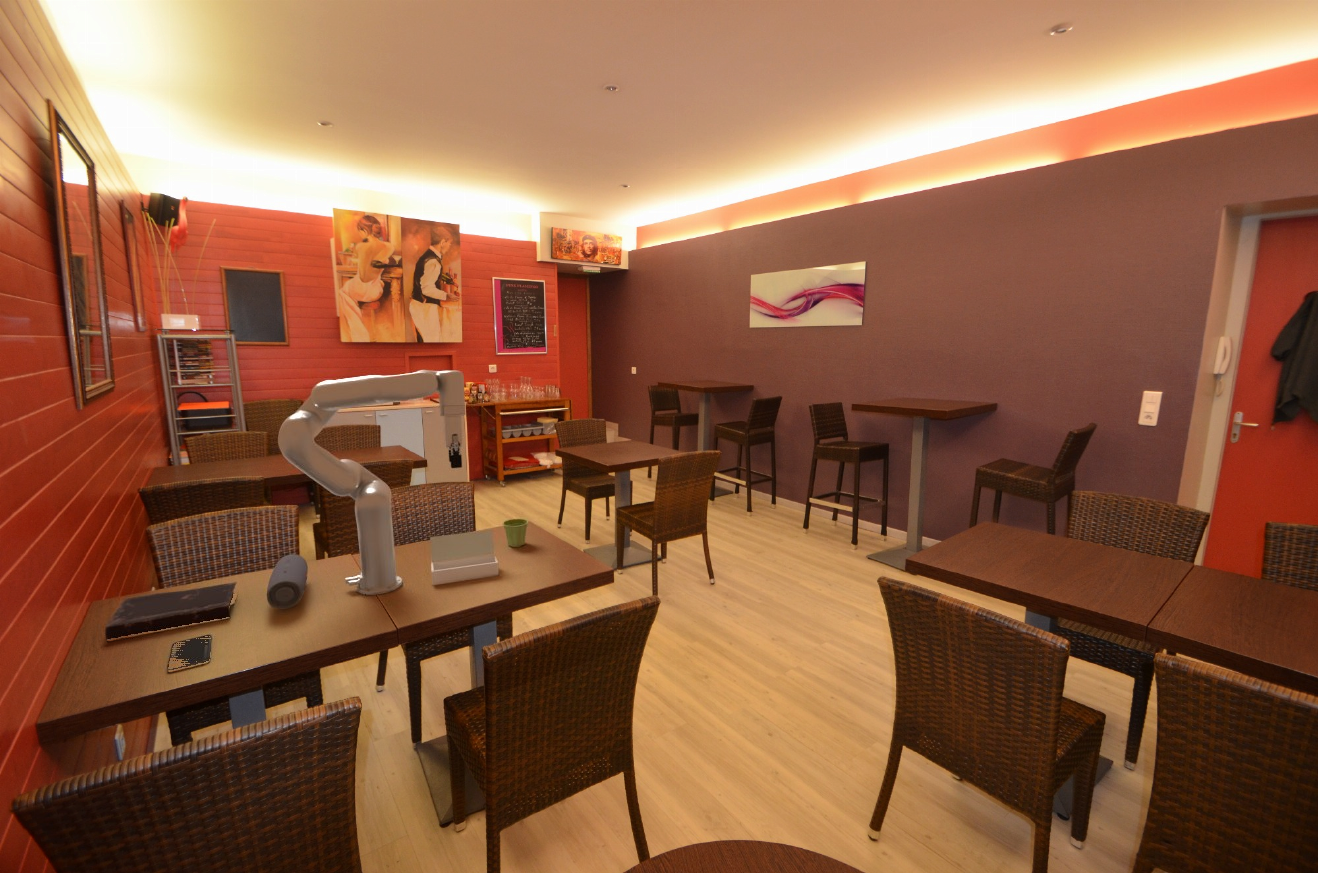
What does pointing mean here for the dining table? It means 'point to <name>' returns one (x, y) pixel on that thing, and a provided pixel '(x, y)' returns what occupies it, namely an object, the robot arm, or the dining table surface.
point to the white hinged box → (464, 569)
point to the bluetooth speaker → (287, 582)
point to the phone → (192, 651)
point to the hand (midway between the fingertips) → (455, 464)
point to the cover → (461, 545)
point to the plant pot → (515, 531)
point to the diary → (170, 610)
